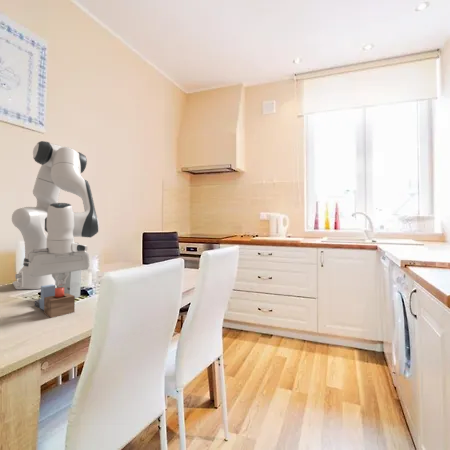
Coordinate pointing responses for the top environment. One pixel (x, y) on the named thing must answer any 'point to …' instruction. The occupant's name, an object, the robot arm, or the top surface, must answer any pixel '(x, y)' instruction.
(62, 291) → the button
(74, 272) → the skincare box
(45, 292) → the light blue stepped block
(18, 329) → the top surface
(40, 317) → the top surface
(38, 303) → the rail
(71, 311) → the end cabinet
